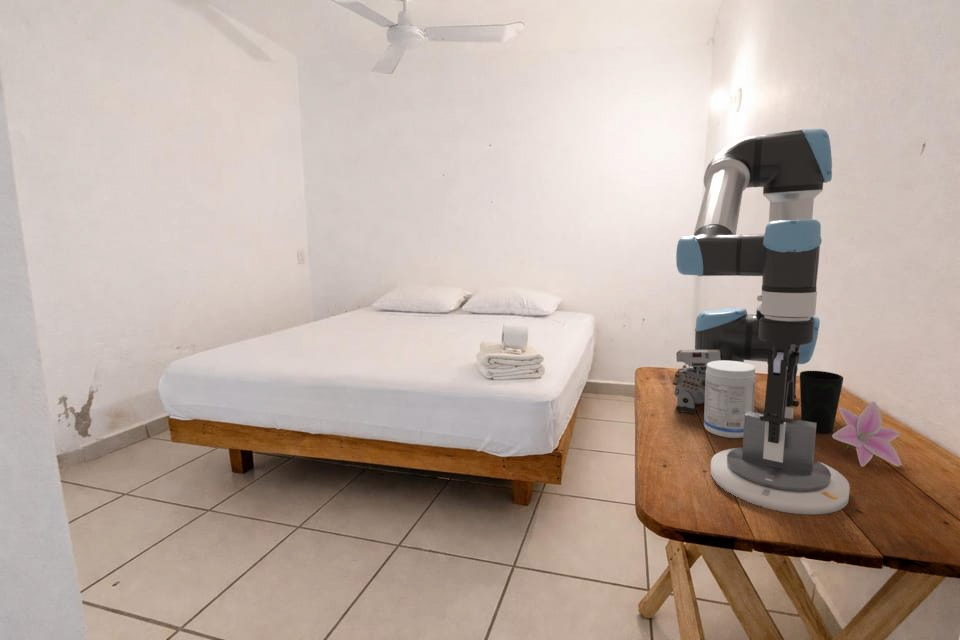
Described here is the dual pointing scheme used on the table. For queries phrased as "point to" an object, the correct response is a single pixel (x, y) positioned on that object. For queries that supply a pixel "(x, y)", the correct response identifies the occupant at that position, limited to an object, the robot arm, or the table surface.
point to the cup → (820, 398)
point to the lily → (868, 435)
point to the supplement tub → (728, 397)
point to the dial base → (782, 491)
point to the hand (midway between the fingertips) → (777, 450)
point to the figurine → (692, 377)
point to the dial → (797, 460)
